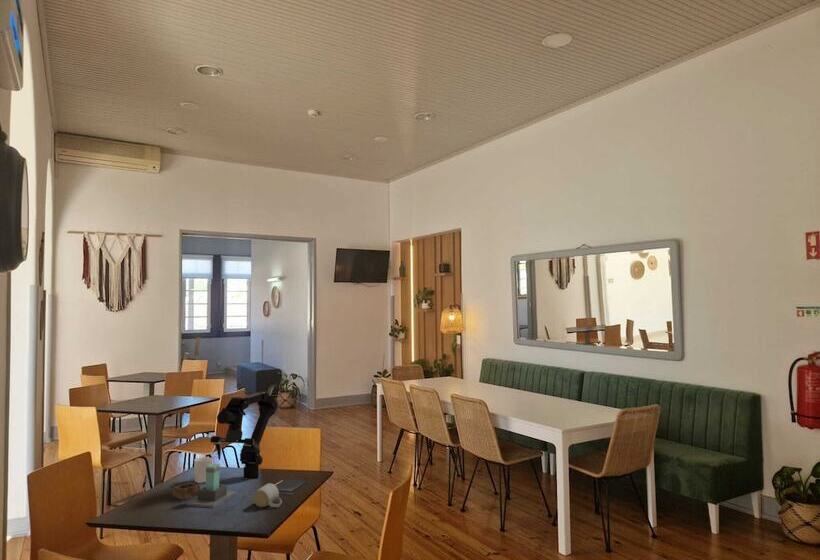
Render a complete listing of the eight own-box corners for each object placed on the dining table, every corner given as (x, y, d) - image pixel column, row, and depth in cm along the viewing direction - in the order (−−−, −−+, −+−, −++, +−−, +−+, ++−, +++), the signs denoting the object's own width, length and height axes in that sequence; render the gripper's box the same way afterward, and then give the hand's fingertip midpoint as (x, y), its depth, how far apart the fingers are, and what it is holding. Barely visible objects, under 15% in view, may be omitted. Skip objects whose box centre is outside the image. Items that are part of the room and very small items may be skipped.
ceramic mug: (251, 507, 220) (252, 487, 221) (262, 501, 228) (263, 482, 229) (275, 510, 217) (275, 490, 218) (285, 503, 225) (286, 484, 226)
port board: (211, 492, 240) (211, 480, 240) (236, 493, 238) (236, 482, 238) (186, 505, 222) (186, 493, 223) (213, 507, 220) (213, 495, 220)
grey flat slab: (291, 492, 235) (260, 489, 239) (291, 497, 235) (260, 494, 239) (312, 479, 254) (283, 477, 258) (312, 484, 254) (283, 481, 258)
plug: (211, 495, 233) (211, 464, 233) (219, 495, 232) (219, 464, 233) (205, 498, 228) (205, 466, 229) (213, 499, 227) (214, 467, 228)
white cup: (194, 479, 260) (194, 457, 260) (212, 477, 262) (212, 456, 263) (193, 484, 252) (193, 461, 253) (211, 482, 254) (211, 460, 255)
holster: (190, 491, 241) (190, 482, 241) (199, 494, 237) (199, 485, 237) (172, 496, 234) (173, 486, 235) (182, 499, 230) (182, 489, 230)
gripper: (211, 423, 243) (205, 460, 239) (254, 426, 246) (249, 462, 242) (215, 423, 254) (209, 458, 250) (256, 426, 257) (251, 461, 253)
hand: (229, 460), depth 248 cm, fingers open, 9 cm apart
